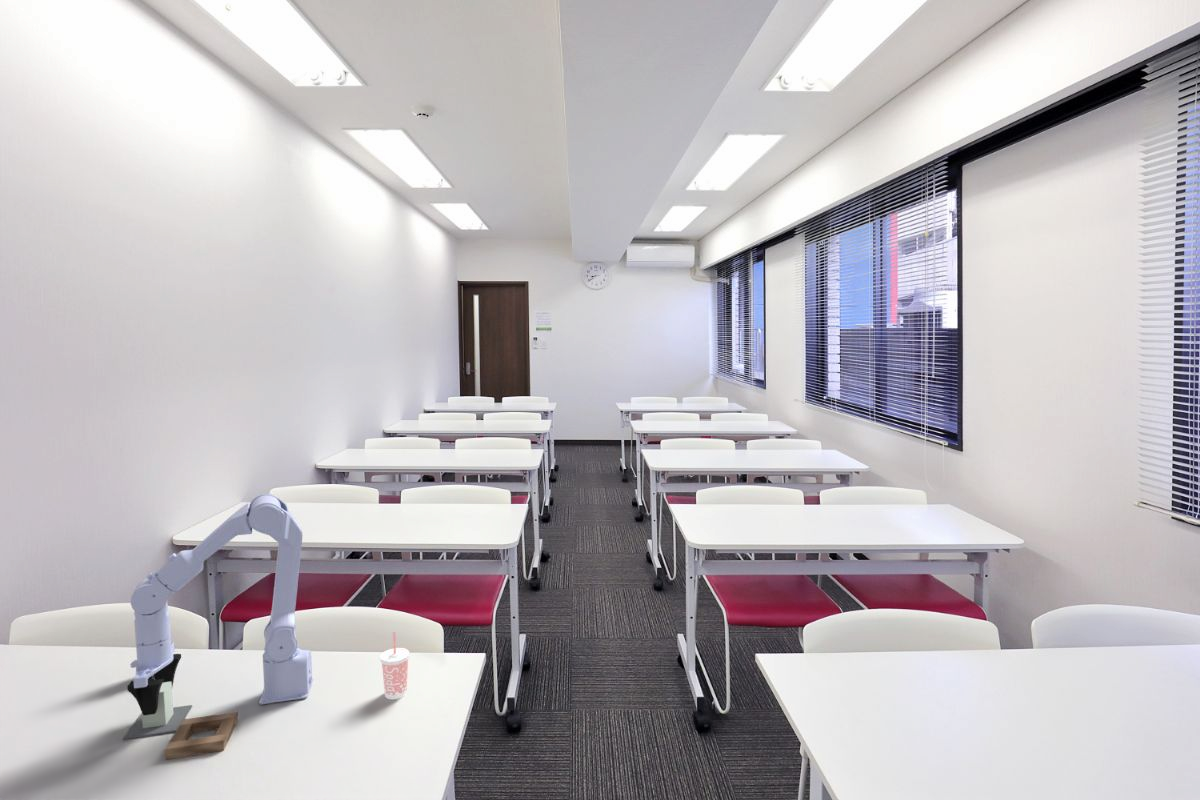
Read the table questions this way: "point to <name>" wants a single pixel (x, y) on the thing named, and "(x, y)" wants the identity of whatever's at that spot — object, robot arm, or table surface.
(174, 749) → the frame
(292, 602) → the robot arm
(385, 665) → the beverage cup
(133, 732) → the mat
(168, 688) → the part block
